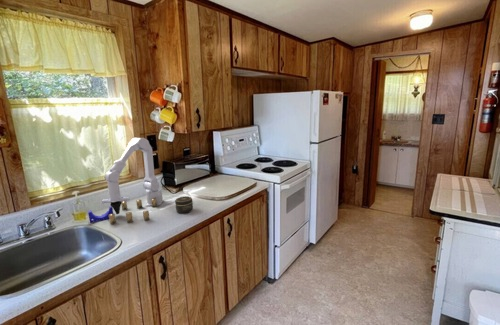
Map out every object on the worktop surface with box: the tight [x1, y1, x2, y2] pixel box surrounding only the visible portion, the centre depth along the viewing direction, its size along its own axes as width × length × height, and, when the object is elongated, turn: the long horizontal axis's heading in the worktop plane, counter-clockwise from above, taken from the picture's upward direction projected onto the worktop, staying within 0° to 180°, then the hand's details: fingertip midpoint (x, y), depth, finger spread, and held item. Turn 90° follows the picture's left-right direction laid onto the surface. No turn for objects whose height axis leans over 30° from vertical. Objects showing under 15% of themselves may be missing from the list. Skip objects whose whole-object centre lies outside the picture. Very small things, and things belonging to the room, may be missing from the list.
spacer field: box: [108, 198, 158, 225], centre depth 154 cm, size 21×23×5 cm
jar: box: [174, 195, 194, 215], centre depth 155 cm, size 10×10×8 cm
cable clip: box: [87, 205, 114, 224], centre depth 149 cm, size 12×4×6 cm, turn 121°
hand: (117, 213), depth 153 cm, fingers closed
